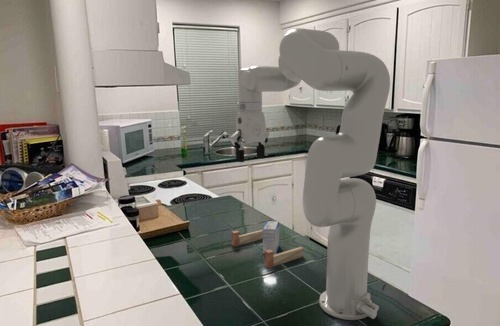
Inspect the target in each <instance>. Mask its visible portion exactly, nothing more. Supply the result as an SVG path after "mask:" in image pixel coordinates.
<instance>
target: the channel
mask: <svg viewBox="0 0 500 326" xmlns="http://www.w3.org/2000/svg"><path fill="white" fill-rule="evenodd" d="M260 240H263V229H259V230H256V231H252V232H248V233H247V232H246V233H244V234H240V231H239V230H237V229H235V230H232V231H231V246H232V247H235V248H236V247H239V246H242V245H244V244H245V245H246V244H249V243H253V242H257V241H260ZM303 257H304V247H302V246H299V247H295V248H292V249H289V250H285V251H283V252H279V253H278V252H277V253H276V254H274V251H272V250H271V249H269V250H266V251H265V254H264V267H265V268H266V269H268V270H269V269H272V268H274V267H276V266H279V265H282V264H285V263H289V262H292V261H294V260H298V259H301V258H303Z"/></svg>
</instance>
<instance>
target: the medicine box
mask: <svg viewBox="0 0 500 326" xmlns="http://www.w3.org/2000/svg"><path fill="white" fill-rule="evenodd" d="M262 230H263V239H262V254H264V255H265V251H266V250H269V249H271V250H272V251H274V255H275V254H278V249H279V246H280V221H273V220H272V221H271V220H270V221H269V220H268V221H266V222H265V224H264V226H263V229H262Z"/></svg>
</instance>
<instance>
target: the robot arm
mask: <svg viewBox="0 0 500 326" xmlns="http://www.w3.org/2000/svg"><path fill="white" fill-rule="evenodd" d="M278 51H279V56H278V60H277V61H278V62H277V63H278V66H270V65H269V66H268V65H253V66H250V67H246V68H241V69H239V70H238V75H237V76H238V104H237V109H238V112H237V116H236V124H235V125H236V126H235V132H234V133H233V134H232V135H231V136H229V139H230V143H231V145H232V147H233V149H234V150H235V161H236V162H240V163H244V162H245V149H244V148H245V146H246V144H247V145H249V144H257V145H256V158H258V159H265V157H266V154H265V153H266V152H265V150H266V147H267V143H268V141H269V137H270V132H269V131H267V127H266V119H265V112H264V111H263V92H265V93H267V92H273V93H275V92H279V93H280V92H285V91H288V90H290V89H293V88H296V87H297V86H298V85H300V83H301V82H302V81H303V82H304V83H305V84H306V85H307V86H309V87H310V88H312V89H314V90H317V91H321V92H322V91H323V92H342V91H343V92H344V91H348V92H349V91H350V92H352V95H351V97H350V98H349V99H348V101H347V102H346V104H345V106H344V109H343V110H342V113H341V123H340V128H339V132H338V133H335V134H328V135H323V136H320V137H318V138H317V139H316V140H315V141H313V142H312V144H311V146H310V147H309V149H308V152H307V155H306V156H307V157H306V162H305V173H304V180H303V181H304V182H303V191H302V192H303V193H302V210H303V213H304V217H305V218H306V220H307V221H308V223H309V224H311V225H312V226H314V227H317V228H326V227H329V229H328V233H327V247H326V248H327V250H326V252H327V253H326V255H327V257H326V284H325V285H326V287H325V289H326V290H325V291H323V292H322V293H321V294H320V296H319V298H318V299H319V301H318V302H319V307H320V308H321V309H322V310H323V311H324V312H325V313H327V314H328V315H329V316H332V317H335V318H336V319H340V320H345V321H358V320H361V319H362V320H363V319H365V318H367V317H369V318H371V319H372V320H374V319H376V317H377V315H378V311H379V309H380V306H379V305H378V304H376V303H374V302H372V300H371V293H370V292H368V274H369V273H368V272H369V258H370V257H369V255H370V240H371V239H370V238H371V228H372V223H373V220H374V219H373V218H374V215H375V211H376V207H377V196H376V193H375V190H374V189H375V188H373V186H372V185H371V184H370V183H369V182H367V181H366V180H364V179H361V178H356V177H357V176H362V175H364V174H365V175H366V174H367V173H369V172H371V171H372V170H373V168H375V164H376V161H377V156H378V150H379V144H380V139H381V133H382V125H383V118H384V112H385V109H386V105H387V101H388V99H389V94H390V89H391V76H390V73H389V69H388V67H387V65H386V64H385V62H384V61H383V60H382V59H381V58H379V57H378V56H376V55H374V54H372V53H368V52H364V51H355V50H340V43H339V41H338V39H337V37H336V36H335V35H333V34H332V33H331V32H329V31H325V30H320V29H318V30H317V29H308V28H300V27H299V28H293V29H290V30H288V31H287V32H286V33H285V34H284V36H282V38H281V40H280V43H279V50H278ZM350 177H351V178H350ZM353 177H354V178H353Z"/></svg>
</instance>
